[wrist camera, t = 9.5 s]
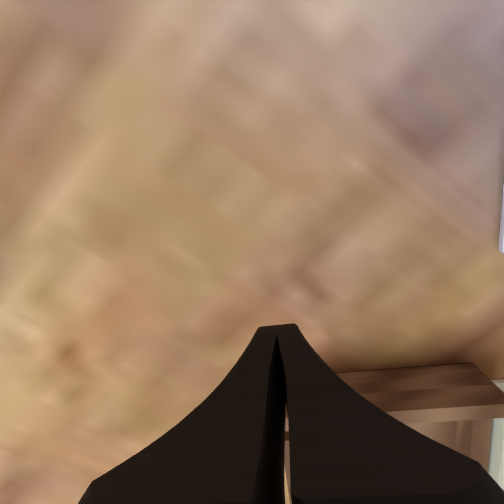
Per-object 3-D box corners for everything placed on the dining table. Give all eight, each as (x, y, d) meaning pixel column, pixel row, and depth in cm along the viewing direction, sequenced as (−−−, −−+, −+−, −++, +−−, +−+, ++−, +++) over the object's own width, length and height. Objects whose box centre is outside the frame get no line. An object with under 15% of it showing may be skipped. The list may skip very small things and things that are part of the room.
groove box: (471, 362, 21) (515, 403, 17) (464, 489, 24) (499, 546, 20) (276, 378, 22) (277, 418, 18) (292, 496, 25) (296, 551, 21)
